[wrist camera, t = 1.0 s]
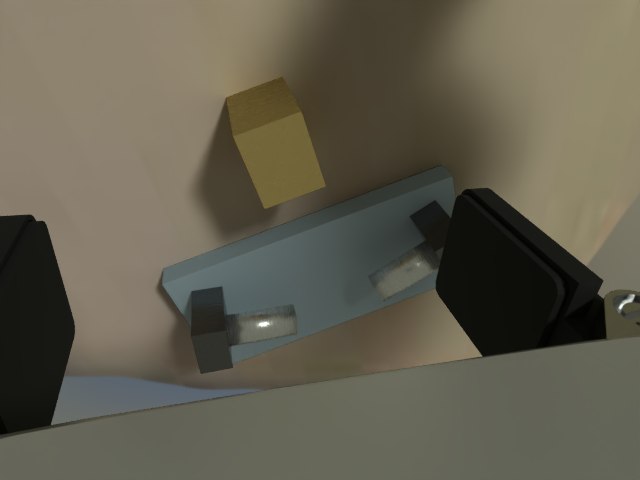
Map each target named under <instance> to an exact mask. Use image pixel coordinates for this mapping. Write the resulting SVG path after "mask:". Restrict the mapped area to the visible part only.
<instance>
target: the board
mask: <svg viewBox="0 0 640 480" xmlns="http://www.w3.org/2000/svg"><path fill="white" fill-rule="evenodd" d="M434 200H436V201H437V202H438V204H439V205H440V206H441V207H442V208H443V209H444V211H445V212H446V213H447V214H448V215H449V216H450V218H451V215H452V211H453V207H454V203H455V200H456V196H455V188H454V180H453V176H452V175H451V174H450V173H449V172H448V171H447V170H446V169H445V168H444V167H443V166H442V165H441V166H438V167H435V168H433V169H430V170H427V171H425V172H422V173H419V174H417V175H414V176H411V177H409V178H406V179H403V180H400V181H398V182H395V183H392V184H390V185H387V186H384V187H382V188H379V189H376V190H374V191H371V192H368V193H366V194H363V195H360V196H358V197H355V198H352V199H350V200H347V201H344V202H341V203H339V204H336V205H333V206H331V207H328V208H325V209H323V210H320V211H317V212H315V213H312V214H309V215H307V216H304V217H301V218H299V219H296V220H293V221H291V222H288V223H285V224H282V225H280V226H277V227H274V228H272V229H269V230H266V231H264V232H261V233H258V234H256V235H253V236H250V237H248V238H245V239H242V240H240V241H237V242H234V243H232V244H229V245H226V246H223V247H221V248H218V249H215V250H213V251H210V252H207V253H205V254H202V255H199V256H197V257H194V258H191V259H189V260H186V261H183V262H181V263H178V264H175V265H173V266H170V267H167V268H165V269H163V280H162V285H163V287H164V288H165V290H166V291H167V293H168V294H169V295H170V297H171V298H172V300H173V301H174V303H175V304H176V306H177V307H178V309H179V310H180V312H181V313H182V315H183V316H184V317H185V319H186V320H187V322H188V323H189V325H190V326H191V296H192V291H195V290H201V289H208V288H214V287H220V286H222V288H223V293H224V298H225V304H226V309H227V314H228V315H229V314H235V313H241V312H247V311H253V310H259V309H265V308H271V307H277V306H283V305H289V304H294V307H295V312H296V317H297V324H298V334H296V335H290V336H285V337H279V338H274V339H268V340H262V341H257V342H251V343H246V344H240V345H234V346H231V352H232V364H234V363H237V362H240V361H242V360H245V359H248V358H250V357H253V356H256V355H258V354H261V353H264V352H266V351H269V350H272V349H274V348H277V347H280V346H282V345H285V344H288V343H290V342H293V341H296V340H298V339H301V338H304V337H306V336H309V335H312V334H314V333H317V332H320V331H322V330H325V329H328V328H330V327H333V326H336V325H338V324H341V323H344V322H346V321H349V320H351V319H354V318H357V317H359V316H362V315H365V314H367V313H370V312H373V311H375V310H378V309H381V308H383V307H386V306H389V305H391V304H394V303H397V302H399V301H402V300H405V299H407V298H410V297H413V296H415V295H418V294H421V293H423V292H426V291H429V290H431V289H434V288H436V278H437V274H438V269H437V270H436V271H434V272H432V273H431V274H429V275H428V276H426V277H424V278H423V279H421V280H419V281H418V282H416V283H414V284H413V285H411V286H409V287H408V288H406V289H404V290H403V291H401V292H399V293H398V294H396V295H394V296H393V297H391V298H389V299H388V300H386V301H384V302H383V301H382V300H381V298H380V297H379V296H378V294H377V293H376V291H375V289H374V288H373V286H372V284H371V283H370V281H369V279H368V275H370V274H371V273H373V272H375V271H376V270H378V269H380V268H381V267H383V266H384V265H386V264H388V263H389V262H391V261H393V260H394V259H396V258H397V257H399V256H401V255H402V254H404V253H406V252H407V251H409V250H410V249H412V248H414V247H415V246H417V245H419V244H420V243H422V242H423V241H424V240H423V238H422V237H421V235H420V233H419V232H418V230H417V228H416V227H415V225H414V223H413V221H412V220H411V218H410V216H411V215H412V214H414V213H415V212H417V211H418V210H420V209H422V208H423V207H425V206H426V205H428V204H430V203H431V202H433V201H434Z"/></svg>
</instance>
